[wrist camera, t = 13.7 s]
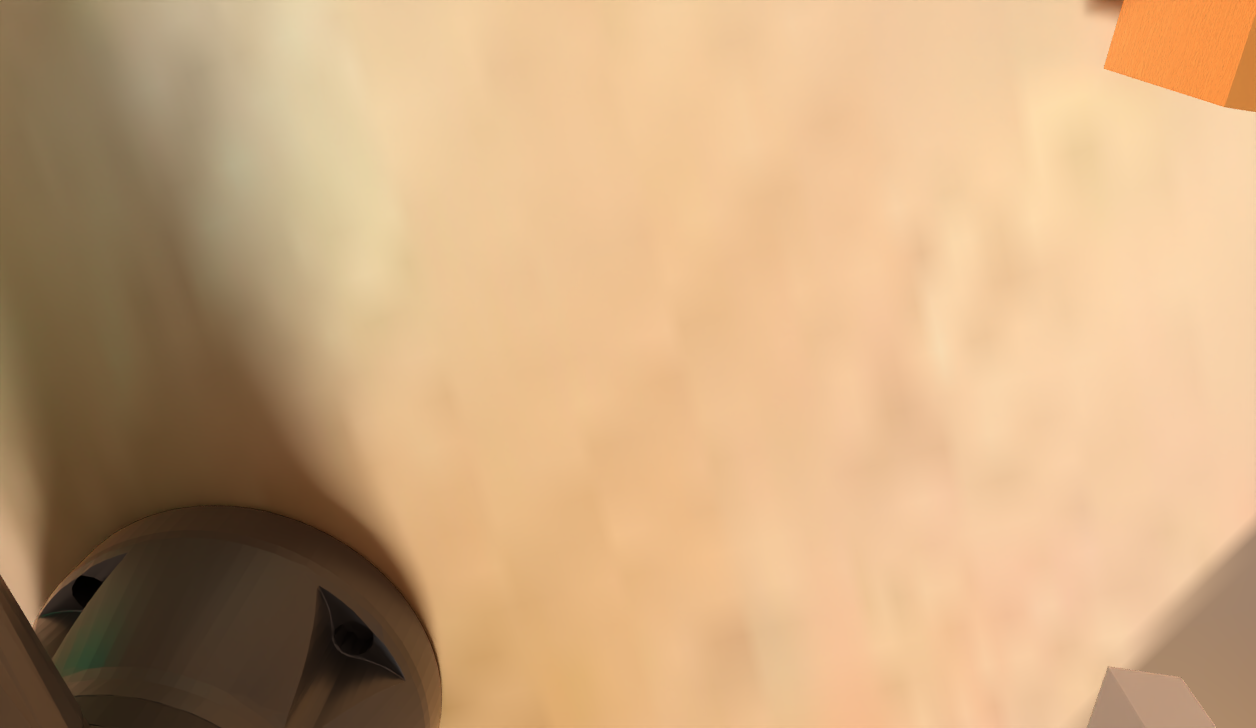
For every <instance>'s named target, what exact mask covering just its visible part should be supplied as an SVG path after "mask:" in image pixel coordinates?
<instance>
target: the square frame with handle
mask: <svg viewBox="0 0 1256 728" xmlns="http://www.w3.org/2000/svg"><path fill="white" fill-rule="evenodd" d="M1104 69H1107V70H1110V71H1113V72H1116V73H1119V74H1123V75H1126V76H1129V77H1132V78H1135V79H1138V80H1141V81H1144V82H1148V83H1151V84H1154V85H1157V86H1160V87H1163V88H1166V89H1170V90H1173V91H1176V92H1179V93H1182V94H1185V95H1188V96H1192V97H1195V98H1198V99H1201V100H1204V101H1207V102H1210V103H1213V104H1217V105H1220V106H1223V107H1228V108H1234V109H1240V110H1246V111H1253V112H1256V0H1124V1H1123V4H1122V8H1121V11H1120V14H1119V18H1118V21H1117V25H1116V28H1115V31H1114V35H1113V38H1112V42H1111V45H1110V48H1109V52H1108V55H1107V59H1106V62H1105V65H1104Z"/></svg>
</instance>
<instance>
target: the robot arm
mask: <svg viewBox="0 0 1256 728" xmlns="http://www.w3.org/2000/svg"><path fill="white" fill-rule="evenodd" d="M441 707H442V694H441V683H440V676H439V671H438V666H437V662H436V659H435V655H434V652H433V649H432V647H431V644H430V642H429V639H428V637H427V635H426V633H425V631H424V629H423V627H422V625H421V623H420V621H419V620H418V618H417V616H416V614H415V613H414V611H413V610H412V608H411V607H410V605H409V604H408V603H407V601H406V600H405V599H404V597H403V596H402V595H401V594H400V592H399V591H398V590H397V589H396V588H395V587H394V586H393V584H392V583H391V582H390V581H389V580H388V579H387V578H386V577H385V576H384V575H383V574H382V573H381V572H380V571H379V570H378V569H376V568H375V567H374V566H373V565H372V564H371V563H369V562H368V561H367V560H366V559H365V558H363V557H362V556H361V555H359V554H358V553H357V552H355V551H354V550H352V549H351V548H349V547H348V546H346V545H345V544H343V543H342V542H340V541H338V540H336V539H335V538H333V537H331V536H329V535H328V534H326V533H324V532H322V531H319V530H317V529H315V528H313V527H311V526H309V525H306V524H304V523H301V522H299V521H296V520H293V519H290V518H287V517H284V516H281V515H277V514H273V513H270V512H265V511H260V510H256V509H250V508H242V507H233V506H196V507H187V508H180V509H174V510H170V511H165V512H161V513H158V514H155V515H152V516H149V517H146V518H144V519H141V520H138V521H136V522H134V523H132V524H130V525H128V526H126V527H124V528H122V529H121V530H119V531H118V532H116V533H114V534H113V535H111V536H110V537H109V538H107V539H106V540H105V541H103V542H102V543H101V544H100V545H99V546H98V547H96V548H95V549H94V550H93V551H92V552H91V553H90V554H89V555H88V556H87V557H86V558H85V559H84V560H83V561H82V562H81V563H80V564H79V565H78V566H77V567H76V568H75V569H74V570H73V571H72V572H71V573H70V574H68V575H67V577H66V578H65V579H64V580H63V581H62V582H61V583H60V584H59V585H58V586H57V588H56V589H55V590H54V592H53V593H52V594H51V596H50V597H49V598H48V600H47V601H46V603H45V605H44V606H43V608H42V609H41V611H40V613H39V615H38V617H37V619H36V621H35V623H34V625H33V628H32V626H31V625H30V623H29V621H28V620H27V618H26V616H25V615H24V613H23V611H22V610H21V608H20V606H19V605H18V603H17V601H16V600H15V598H14V597H13V595H12V593H11V592H10V590H9V588H8V587H7V585H6V583H5V582H4V580H3V578H2V577H1V575H0V728H439V724H440V718H441ZM1087 728H1217V727H1216V726H1215V725H1214V723H1213V722H1212V720H1211V719H1210V717H1209V716H1208V715H1207V713H1206V712H1205V710H1204V709H1203V707H1202V706H1201V705H1200V703H1199V702H1198V700H1197V699H1196V698H1195V696H1194V695H1193V693H1192V692H1191V690H1190V689H1189V688H1188V686H1187V685H1186V683H1185V682H1184V681H1183V679H1182V678H1181V677H1176V676H1170V675H1163V674H1155V673H1149V672H1143V671H1136V670H1129V669H1122V668H1115V667H1109V666H1108V668H1107V671H1106V674H1105V677H1104V679H1103V682H1102V685H1101V688H1100V691H1099V694H1098V697H1097V700H1096V702H1095V705H1094V708H1093V711H1092V714H1091V717H1090V720H1089V723H1088V725H1087Z"/></svg>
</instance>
